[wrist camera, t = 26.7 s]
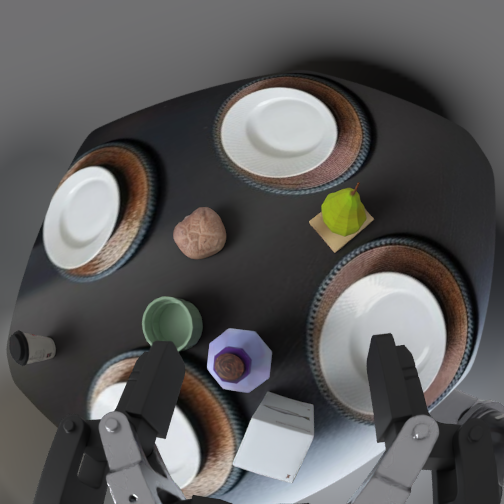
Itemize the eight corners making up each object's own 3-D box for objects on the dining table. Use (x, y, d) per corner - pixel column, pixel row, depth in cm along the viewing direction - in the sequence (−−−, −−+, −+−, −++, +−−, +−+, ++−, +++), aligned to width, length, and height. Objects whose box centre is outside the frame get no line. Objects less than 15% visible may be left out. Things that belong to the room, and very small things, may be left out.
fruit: (312, 226, 42) (314, 192, 31) (333, 193, 43) (340, 152, 31) (349, 249, 40) (364, 222, 29) (368, 215, 41) (388, 179, 29)
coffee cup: (62, 358, 46) (27, 360, 37) (46, 367, 47) (12, 369, 37) (53, 327, 48) (17, 325, 39) (37, 338, 49) (4, 336, 39)
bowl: (214, 331, 42) (203, 332, 38) (174, 360, 42) (161, 363, 38) (184, 288, 45) (172, 285, 40) (148, 318, 45) (133, 317, 40)
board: (372, 221, 42) (374, 218, 41) (334, 253, 42) (335, 251, 41) (347, 193, 43) (347, 190, 42) (309, 223, 43) (309, 221, 42)
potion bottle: (211, 363, 41) (178, 378, 30) (237, 315, 42) (212, 313, 31) (261, 392, 39) (244, 418, 27) (289, 342, 40) (283, 352, 28)
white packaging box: (314, 403, 37) (317, 436, 25) (297, 444, 36) (292, 486, 24) (267, 389, 39) (251, 416, 27) (251, 429, 38) (230, 466, 26)
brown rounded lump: (169, 234, 47) (184, 270, 43) (165, 207, 43) (181, 243, 38) (210, 222, 50) (229, 255, 46) (211, 195, 45) (232, 228, 41)
